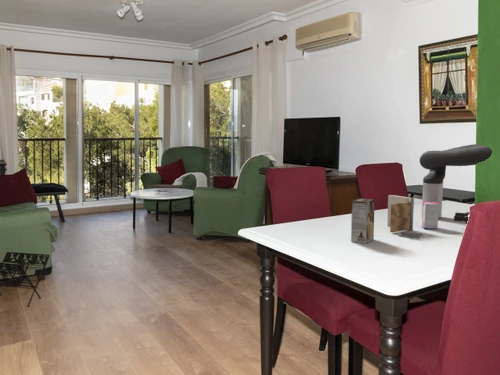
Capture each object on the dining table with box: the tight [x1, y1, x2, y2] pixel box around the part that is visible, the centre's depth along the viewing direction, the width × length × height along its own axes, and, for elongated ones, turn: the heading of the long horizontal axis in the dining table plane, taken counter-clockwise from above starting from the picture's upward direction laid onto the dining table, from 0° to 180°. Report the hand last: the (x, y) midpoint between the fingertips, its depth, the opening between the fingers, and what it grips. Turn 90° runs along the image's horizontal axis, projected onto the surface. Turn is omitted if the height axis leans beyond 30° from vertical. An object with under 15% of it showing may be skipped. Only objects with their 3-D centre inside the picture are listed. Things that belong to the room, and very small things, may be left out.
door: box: [389, 202, 410, 233], centre depth 192 cm, size 11×2×12 cm, turn 123°
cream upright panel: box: [386, 194, 415, 231], centre depth 201 cm, size 2×13×14 cm, turn 33°
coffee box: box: [350, 198, 375, 245], centre depth 177 cm, size 9×6×16 cm
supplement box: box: [421, 202, 439, 230], centre depth 201 cm, size 6×6×12 cm
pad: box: [398, 231, 423, 239], centre depth 187 cm, size 8×8×1 cm
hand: (454, 216), depth 196 cm, fingers open, 8 cm apart
